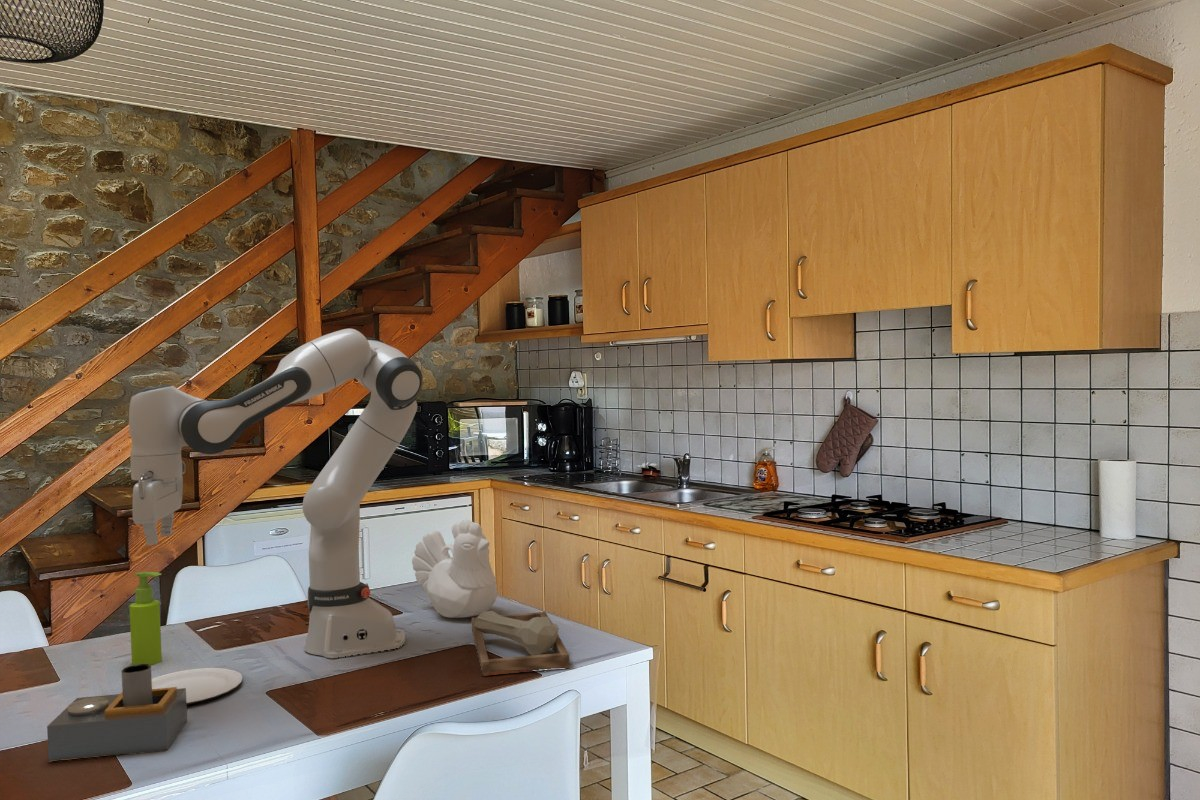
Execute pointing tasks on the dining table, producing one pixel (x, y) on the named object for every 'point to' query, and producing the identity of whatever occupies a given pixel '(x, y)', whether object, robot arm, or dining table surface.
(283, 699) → the dining table surface
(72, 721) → the grey box with knob
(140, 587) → the soap dispenser
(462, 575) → the decorative rooster
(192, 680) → the plate
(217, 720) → the dining table surface
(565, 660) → the candle surround
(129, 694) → the grey cylinder
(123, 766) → the dining table surface
